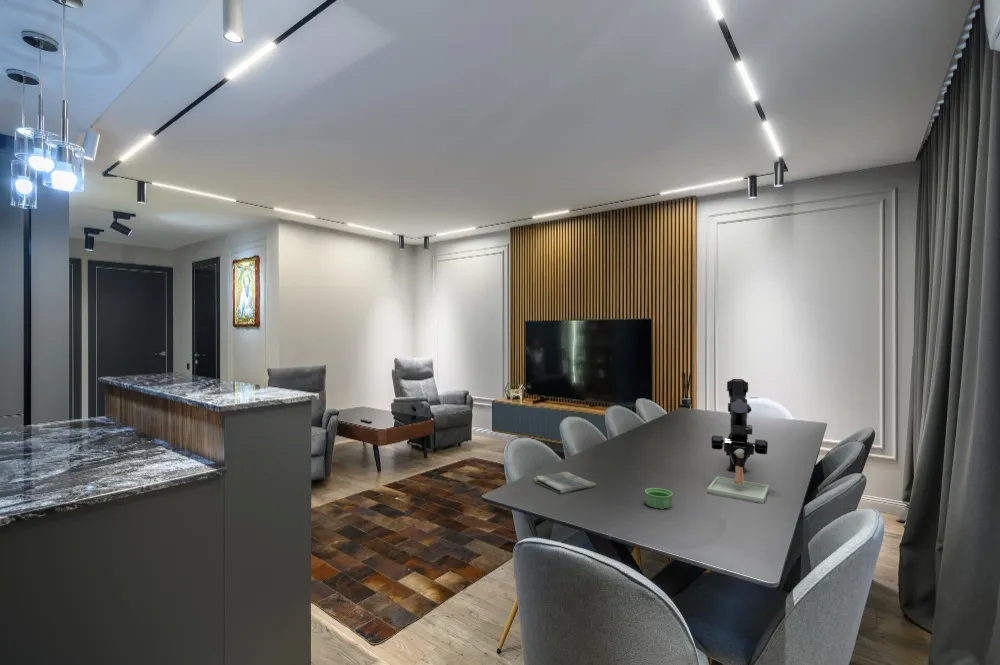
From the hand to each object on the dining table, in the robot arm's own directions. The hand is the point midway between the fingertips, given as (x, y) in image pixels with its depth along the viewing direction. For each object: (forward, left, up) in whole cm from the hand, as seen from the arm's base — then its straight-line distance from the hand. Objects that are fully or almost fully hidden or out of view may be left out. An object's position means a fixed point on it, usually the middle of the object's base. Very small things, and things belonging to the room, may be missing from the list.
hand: (739, 464), depth 175 cm
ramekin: (+30, -20, -10) cm, 38 cm away
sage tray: (-1, 0, -10) cm, 10 cm away
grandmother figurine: (-1, 0, -7) cm, 7 cm away
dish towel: (+29, -56, -11) cm, 64 cm away
